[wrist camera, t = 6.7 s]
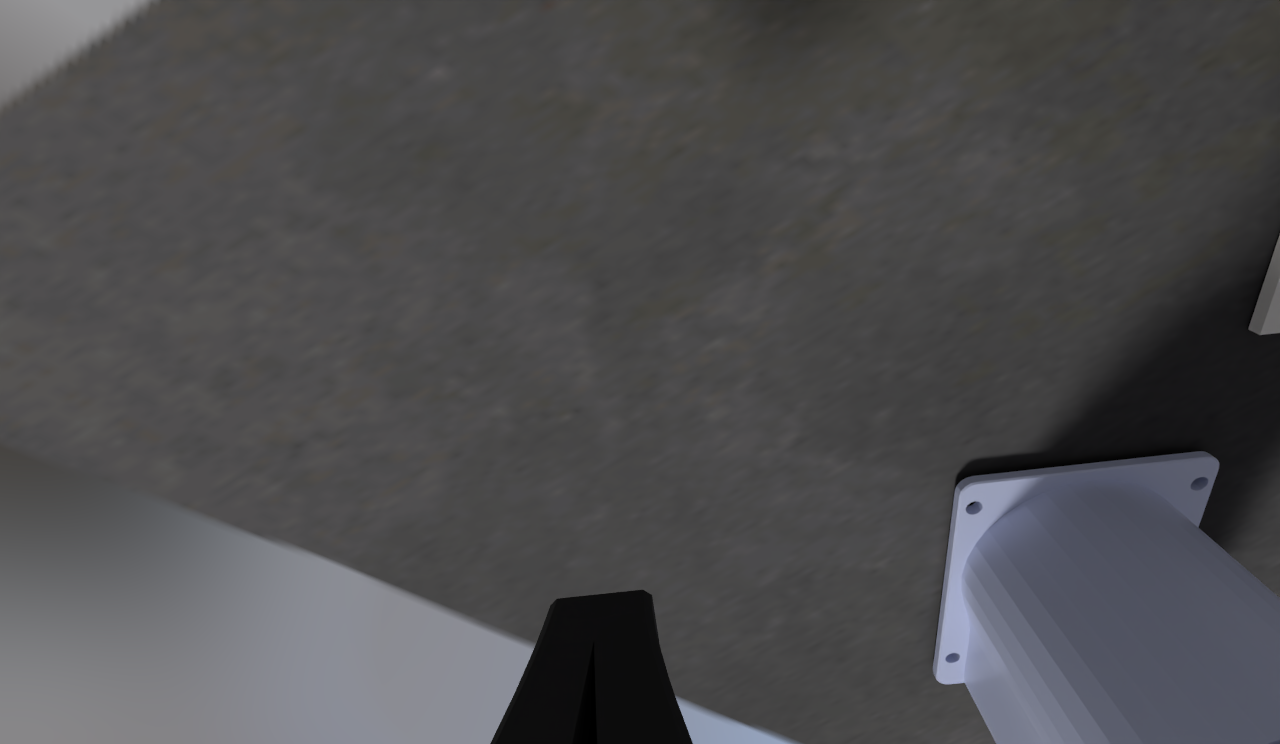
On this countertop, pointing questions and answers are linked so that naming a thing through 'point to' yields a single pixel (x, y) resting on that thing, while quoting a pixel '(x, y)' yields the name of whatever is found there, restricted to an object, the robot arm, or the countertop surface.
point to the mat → (1269, 300)
